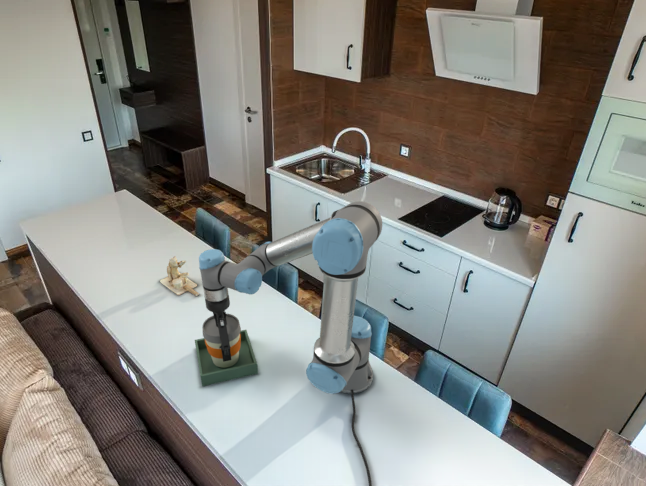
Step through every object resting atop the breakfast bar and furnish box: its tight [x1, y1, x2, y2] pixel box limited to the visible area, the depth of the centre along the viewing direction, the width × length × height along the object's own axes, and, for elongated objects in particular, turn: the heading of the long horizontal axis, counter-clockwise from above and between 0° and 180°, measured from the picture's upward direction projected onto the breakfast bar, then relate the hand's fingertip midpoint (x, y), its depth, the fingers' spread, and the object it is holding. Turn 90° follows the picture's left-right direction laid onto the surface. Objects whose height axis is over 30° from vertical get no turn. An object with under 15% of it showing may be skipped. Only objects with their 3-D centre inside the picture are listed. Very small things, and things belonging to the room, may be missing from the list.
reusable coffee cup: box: [202, 313, 242, 368], centre depth 152 cm, size 13×13×15 cm
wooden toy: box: [159, 255, 200, 297], centre depth 192 cm, size 22×10×14 cm, turn 44°
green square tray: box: [194, 329, 259, 387], centre depth 156 cm, size 19×19×5 cm
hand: (224, 347), depth 154 cm, fingers closed on reusable coffee cup, 12 cm apart
